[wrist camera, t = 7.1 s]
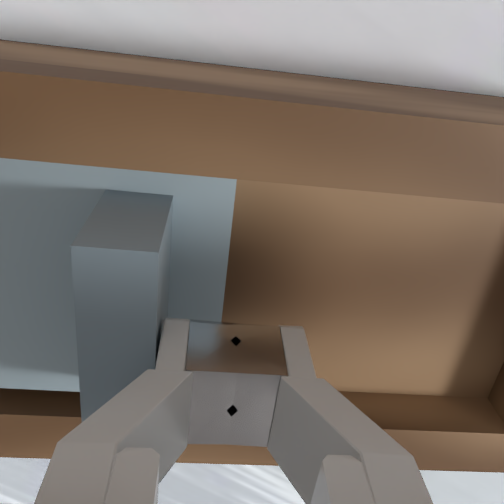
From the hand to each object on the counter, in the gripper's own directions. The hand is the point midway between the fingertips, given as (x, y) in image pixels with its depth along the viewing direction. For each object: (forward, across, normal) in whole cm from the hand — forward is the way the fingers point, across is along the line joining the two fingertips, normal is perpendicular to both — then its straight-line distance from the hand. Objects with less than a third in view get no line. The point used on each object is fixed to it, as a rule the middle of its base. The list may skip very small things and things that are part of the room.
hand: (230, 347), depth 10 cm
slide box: (+6, +2, 0) cm, 6 cm away
